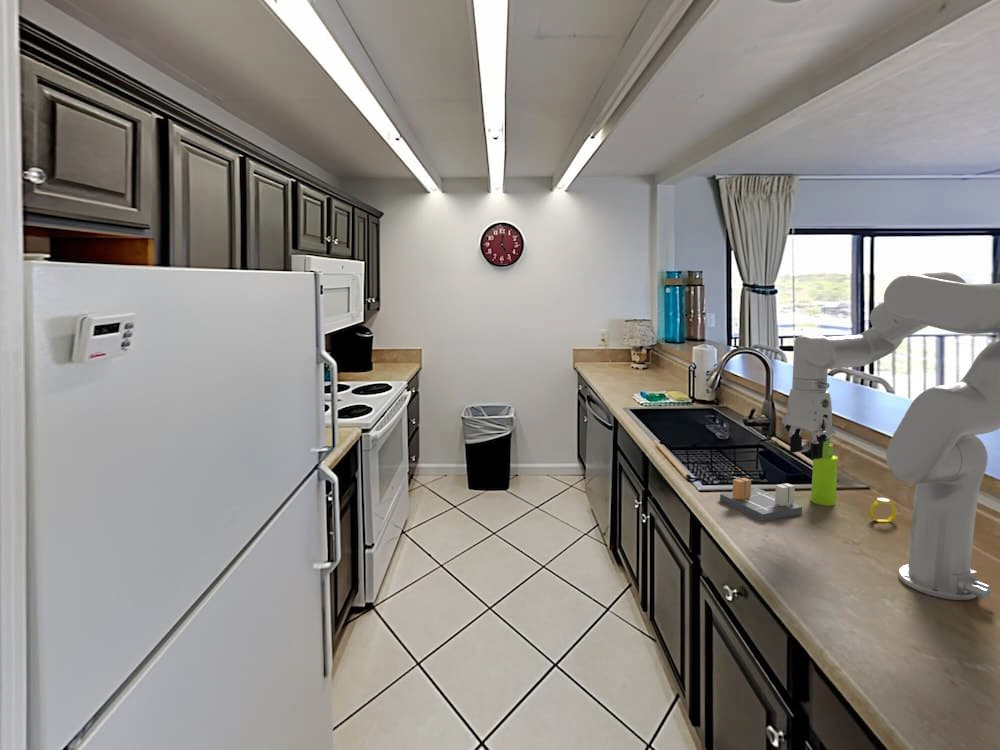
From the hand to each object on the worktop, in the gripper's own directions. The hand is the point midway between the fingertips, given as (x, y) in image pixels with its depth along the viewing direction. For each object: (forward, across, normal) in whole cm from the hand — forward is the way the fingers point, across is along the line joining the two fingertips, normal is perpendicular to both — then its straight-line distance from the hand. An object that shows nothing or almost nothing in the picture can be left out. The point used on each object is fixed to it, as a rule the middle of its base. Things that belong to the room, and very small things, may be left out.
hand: (805, 454), depth 141 cm
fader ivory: (+15, +6, 0) cm, 16 cm away
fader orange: (+15, +14, +7) cm, 22 cm away
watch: (+18, -8, -18) cm, 26 cm away
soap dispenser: (+18, +8, -16) cm, 25 cm away
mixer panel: (+18, +11, +4) cm, 21 cm away
